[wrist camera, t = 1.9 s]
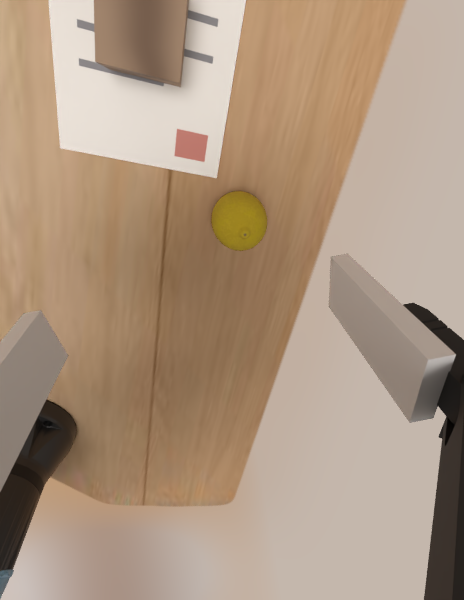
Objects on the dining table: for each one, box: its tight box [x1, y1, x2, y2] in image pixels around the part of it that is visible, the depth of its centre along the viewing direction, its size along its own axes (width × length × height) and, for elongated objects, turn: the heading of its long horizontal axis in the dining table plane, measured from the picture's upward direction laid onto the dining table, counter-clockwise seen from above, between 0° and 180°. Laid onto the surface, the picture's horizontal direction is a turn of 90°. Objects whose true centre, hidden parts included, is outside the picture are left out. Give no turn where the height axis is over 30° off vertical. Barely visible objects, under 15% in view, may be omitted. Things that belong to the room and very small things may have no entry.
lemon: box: [211, 191, 267, 251], centre depth 30 cm, size 6×6×8 cm
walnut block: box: [94, 0, 189, 87], centre depth 23 cm, size 6×6×5 cm
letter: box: [49, 0, 246, 178], centre depth 25 cm, size 15×20×1 cm
